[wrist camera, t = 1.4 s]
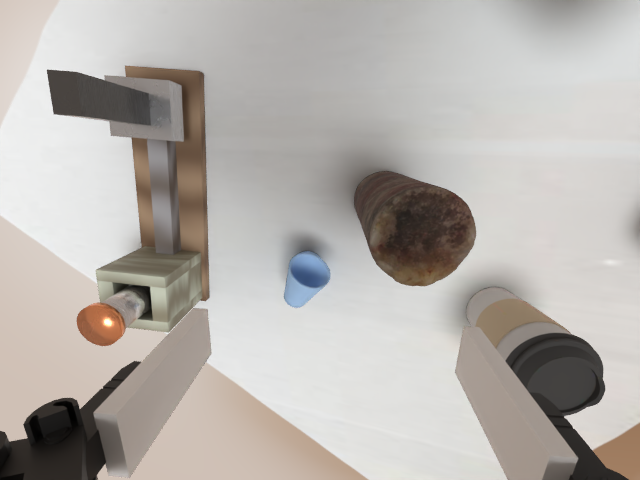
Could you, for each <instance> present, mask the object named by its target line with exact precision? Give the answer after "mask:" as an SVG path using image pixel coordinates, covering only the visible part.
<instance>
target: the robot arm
mask: <svg viewBox="0 0 640 480" xmlns="http://www.w3.org/2000/svg"><path fill="white" fill-rule="evenodd" d="M210 355H211V343H210V332H209V321H208V310H207V309H199V308H193V309H192V310H191V311H190V312H189V313H188V314H187V315H186V316H185V317H184V318H183V319H182V320H181V322H180V323H179V324H178V325H177V326H176V327H175V328H174V329H173V330H172V331H171V332H170V333H169V334H168V335H167V336H166V337H165V338H164V339H163V340H162V341H161V343H159V344H158V346H157V347H156V348H155V349H154V350H153V351H152V352H151V353H150V354H149V355H148V356H147V357H146V358H145V359H144V360H143V361H142V362H137V361H134V362H132V363H130V364H129V365H127V366H126V367H124V368H122V369H121V370H120V371H119V372H118V373H117V374H116V375H115V376H114V377H113V378H112V379H111V381H109V382H108V383H107V384H106V385H105V386H104V387H103V389H101V390H99V392H97V393H96V394H95V395H94V396H93V397H92V398H91V399H90V400H89V401H88V402H87V403H86V404H85V405H84V406H83V407H82V408H81V409H79V405H78V402H77V400H75V399H73V398H62V399H58V400H54V401H52V402H49V403H47V404H45V405H43V406H41V407H40V408H38V409H37V410H35V411H34V412H33V413H32V414H31V415H30V416H29V417H28V418H27V419H26V421H25V423H24V428H25V431H26V434H27V437H28V438H27V439H22V440H17V441H11V442H9V441H8V438H7V435H6V434H5V432H2V431H0V480H98V478H97V474H98V472H99V471H100V470H101V468H102V467H103V466H104V464H105V463H106V467H107V472H108V475H109V476H115V477H125V478H130V477H131V475H132V474H133V472H134V470H135V469H136V467H137V466H138V464H139V463H140V461H141V460H142V458H143V457H144V455H145V454H146V452H147V451H148V449H149V448H150V446H151V445H152V443H153V441H154V440H155V439H156V437H157V436H158V434H159V432H160V431H161V429H162V428H163V426H164V425H165V423H166V422H167V420H168V419H169V417H170V416H171V414H172V413H173V411H174V410H175V408H176V406H177V405H178V404H179V402H180V401H181V399H182V397H183V396H184V394H185V393H186V391H187V390H188V388H189V387H190V385H191V384H192V382H193V381H194V379H195V378H196V376H197V375H198V373H199V372H200V370H201V368H202V367H203V366H204V364H205V362H206V361H207V359H208V358H209V356H210ZM455 373H456V375H457V377H458V379H459V381H460V383H461V385H462V387H463V389H464V391H465V393H466V395H467V398H468V400H469V402H470V404H471V406H472V408H473V410H474V412H475V414H476V416H477V418H478V420H479V422H480V424H481V426H482V428H483V430H484V432H485V434H486V436H487V438H488V440H489V442H490V444H491V446H492V448H493V451H494V453H495V455H496V457H497V459H498V461H499V463H500V465H501V467H502V469H503V471H504V473H505V475H506V477H507V479H508V480H628V479H627V478H625V477H624V476H622V475H621V474H619V473H617V472H614V471H612V470H610V469H608V468H606V467H605V466H604V464H603V463H602V462H601V461H600V460H599V458H598V457H597V456H596V455H595V453H594V452H593V451H592V450H591V449H590V447H589V446H588V445H587V444H586V442H585V441H584V440H583V439H582V437H581V436H580V435H579V434H578V433H577V431H576V430H575V429H573V426H572V425H571V424H570V423H569V422H568V420H567V419H565V418H564V415H563V414H562V413H561V412H560V411H559V409H558V408H557V407H556V406H555V404H553V403H552V402H551V401H550V400H548V399H547V398H546V397H544V396H543V395H542V394H541V393H534V392H528V391H527V389H526V388H525V387H524V385H523V384H522V383H521V381H520V380H519V379H518V377H517V376H516V375H515V373H514V372H513V371H512V369H511V368H510V367H509V366H508V364H507V363H506V362H505V360H504V359H503V358H502V356H501V355H500V354H499V352H498V351H497V350H496V348H495V347H494V346H493V344H492V343H491V342H490V340H489V339H488V338H487V336H486V335H485V334H484V332H483V331H482V330H481V328H480V327H471V326H464V327H463V332H462V338H461V343H460V348H459V354H458V359H457V364H456V370H455Z"/></svg>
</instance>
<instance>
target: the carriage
mask: <svg viewBox="0 0 640 480" xmlns="http://www.w3.org/2000/svg"><path fill="white" fill-rule="evenodd" d="M47 74H48V80H49V87H50V93H51V99H52V105H53V112H54V114H57V115H65V116H72V117H80V118H88V119H96V120H104V121H110V130H111V136H121V137H133V138H144V139H156V140H168V141H182V142H184V132H183V110H182V88H181V85H179V84H177V83H174V82H172V81H169V80H158V79H145V78H132V77H119V76H106V75H104V76H105V80H102V79H98V78H95V77H92V76H88V75H85V74H82V73H78V72H70V71H57V70H47Z"/></svg>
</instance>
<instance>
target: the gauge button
mask: <svg viewBox="0 0 640 480" xmlns="http://www.w3.org/2000/svg"><path fill="white" fill-rule="evenodd" d="M151 307H152V304H151V292H150V286H141V285H132V284H131V285H129V286H127V287H126V288H124V289H123V290H121V291H119V292H118V293H116V294H115V295H113V296H111V297H110V298H108V299H107V300H105V301H103V302H102V303H93V304H91V305H89V306H88V307H86V308H84V309H83V310H81V311H80V313H79V314H78V317H77V326H78V329H79V331H80V333H81V334H82V335H83V336H84V337H85V338H86V339H87V340H88V341H90V342H92V343H94V344H96V345H100V346H108V345H111V344H113V343H115V342H116V341H117V340H118V339H120V338H121V337H122V336H123V334H124V332H125V329H126V328H127V327H128V326H129V325H130V324H132V323H133V322H134V321H135V320H137V319H138V318H139V317H140V316H142V315H143V314H144V313H145V312H146V311H148V310H149V309H150V308H151Z"/></svg>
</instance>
